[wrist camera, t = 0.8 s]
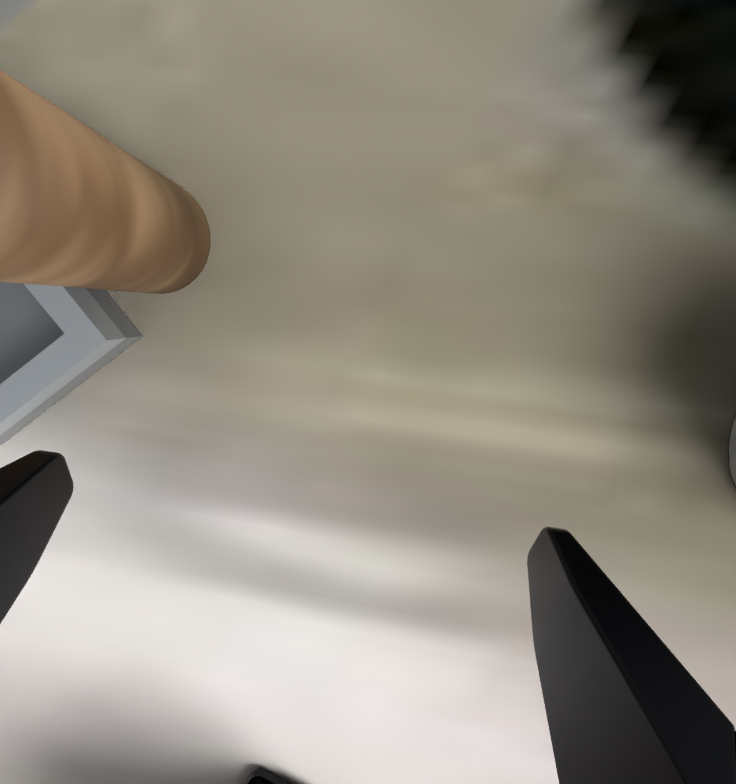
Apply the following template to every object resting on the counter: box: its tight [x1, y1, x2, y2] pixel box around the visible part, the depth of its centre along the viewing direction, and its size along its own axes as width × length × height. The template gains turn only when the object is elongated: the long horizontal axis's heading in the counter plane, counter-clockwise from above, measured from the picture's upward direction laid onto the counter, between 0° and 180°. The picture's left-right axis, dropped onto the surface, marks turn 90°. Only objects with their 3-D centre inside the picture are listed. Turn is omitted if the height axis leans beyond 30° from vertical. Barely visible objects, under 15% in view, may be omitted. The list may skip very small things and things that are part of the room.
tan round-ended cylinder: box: [0, 70, 210, 293], centre depth 14 cm, size 5×5×13 cm
